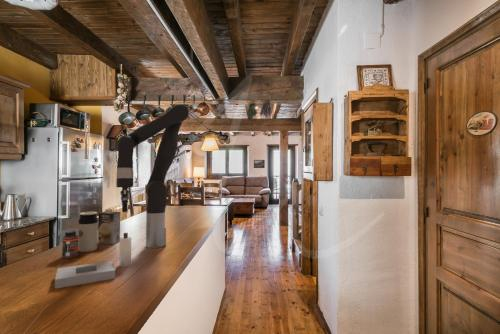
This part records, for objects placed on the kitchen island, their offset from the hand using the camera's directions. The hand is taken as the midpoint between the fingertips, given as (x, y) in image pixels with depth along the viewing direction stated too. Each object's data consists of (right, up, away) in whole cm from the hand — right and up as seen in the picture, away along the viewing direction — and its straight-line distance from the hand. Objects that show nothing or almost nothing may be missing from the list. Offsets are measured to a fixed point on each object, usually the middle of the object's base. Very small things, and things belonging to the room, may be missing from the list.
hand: (124, 211), depth 136 cm
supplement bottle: (-20, -19, -10) cm, 29 cm away
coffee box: (-15, -19, +15) cm, 29 cm away
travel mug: (-18, -19, +1) cm, 26 cm away
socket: (+1, -19, -33) cm, 38 cm away
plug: (+9, -19, -19) cm, 29 cm away
